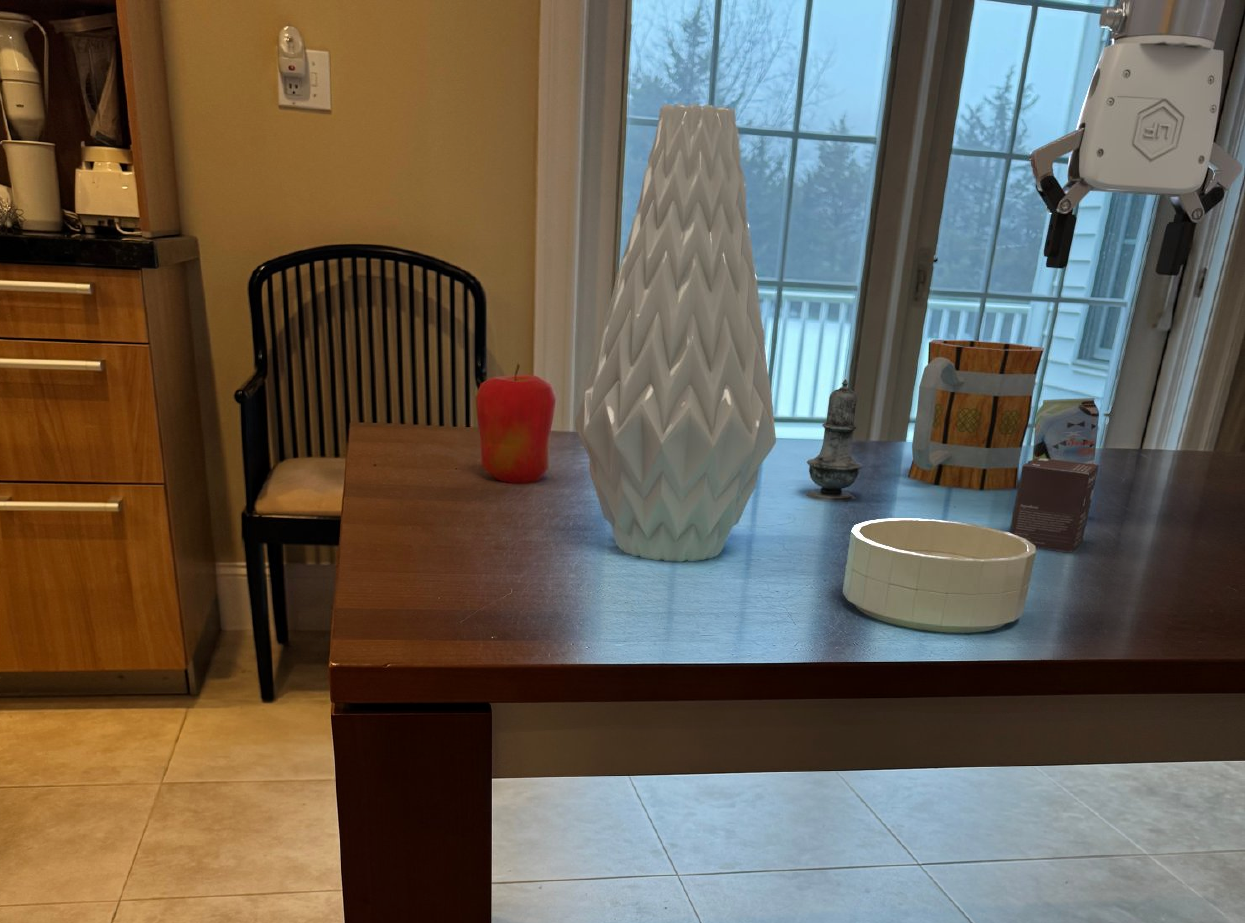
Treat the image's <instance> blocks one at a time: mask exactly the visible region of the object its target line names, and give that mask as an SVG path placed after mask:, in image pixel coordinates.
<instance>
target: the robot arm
mask: <svg viewBox="0 0 1245 923" xmlns="http://www.w3.org/2000/svg"><path fill="white" fill-rule="evenodd" d="M1225 2H1226V0H1118V2H1117V4H1115V5H1113V6H1104V7H1103V8H1102V11H1101V13H1100V16H1099V23H1098V25H1099V28H1107V29H1108V30H1109V31H1111V36H1110V41H1112V43H1111V44H1110V45H1107V46H1106V47H1103V50H1102V52H1101V54H1100V57H1099V59H1098V61H1097V63H1096V67H1095V70H1094V71H1093V72H1094V73H1093V75H1092V78H1091V81H1090V83H1089V87H1088V89H1087V92H1086V96H1085V98H1084V100H1083V101H1084V102H1083V105H1082V108H1081V111H1080V115H1079V118H1078V122H1077V126H1076V129H1075V130H1073V131H1071V132H1069V133H1067V134H1065V135H1063V136H1061V137H1058V138H1057V139H1055V140H1052V141H1051V142H1048V143H1046V144H1045V145H1042V146H1041V147H1038V148H1036V149H1034V150H1033V151H1031V152H1030V155H1029V163H1030V166H1031V170H1032V175H1033V178H1034V181H1035V186H1034V187H1035V190H1036V192H1037V193H1038V195H1039V196H1040V198H1041V199H1042V201H1043V204H1045V206H1046V211H1047V213H1048V214H1050V216H1049V217H1050V218H1049V223H1048V227H1047V233H1046V236H1045V243H1044V247H1043V256H1044V258H1046V261H1045V267H1046V268H1050V269H1063V270H1064V269H1065V268H1066V267H1067V266H1068V262H1069V257H1070V253H1071V248H1072V243H1073V238H1074V233H1075V230H1076V224H1077V219H1078V218H1077V216H1076V214H1073V212H1074V209H1075V207H1076V206H1077V205H1078V204H1079V203H1080V202H1081V201H1082V200H1083V199H1084V198H1085V197H1086V196H1087V195H1088V194H1089V193H1090V192H1103V193H1116V194H1117V193H1118V194H1131V195H1132V194H1133V195H1147V196H1148V195H1149V196H1164V197H1165V199H1166V201H1167V203H1168V205H1169V208H1170V210H1171V212H1172V215H1173V220H1172V221H1168V223H1167V224H1166V226H1165V230H1164V233H1163V238H1162V241H1161V244H1160V245H1161V246H1160V250H1159V254H1158V258H1157V262H1156V267H1155V273H1156V274H1157V275H1161V276H1172V277H1173V276H1175V277H1177V276H1178V275H1179V274H1180V271H1181V267H1182V266H1184V265H1185V263H1186V261H1187V259H1188V255H1189V251H1190V247H1191V243H1192V239H1193V236H1194V231H1195V227H1196V223H1199V222H1201V221H1202V220H1203V219H1204V217H1205V215H1206V214H1208V213H1209V212H1210V211H1211V210H1212V209H1213V208H1215V207H1216V206H1217V205H1218V204H1219V203H1220V202H1221V201H1223V199H1224V198H1225V194H1226V192H1227V191H1229V190H1230V188H1231V186H1232V185H1233V184H1234V183H1235V181H1236V180H1237V178H1238V177H1239V176H1240V174H1241V173H1242V170H1243V165H1242V163H1241V162H1239V161H1238V160H1237V159H1236V158H1235V157H1234V156H1232V155H1231V154H1229V152H1227V151H1226V150H1225V149H1223V148H1222V146H1220V145H1218V144H1217V143H1216V142H1214V140H1215V135H1216V128H1217V122H1218V116H1219V110H1220V103H1221V95H1222V84H1223V76H1224V75H1223V74H1224V54H1225V53H1224V50H1222V49H1214V47H1215V42H1216V39H1217V35H1218V31H1219V28H1220V23H1221V19H1222V14H1223V10H1224V6H1225ZM1069 153H1070V154H1069ZM1067 154H1069V157H1068V165H1067V170H1066V180H1067V182H1066V183H1065V184H1064V185H1063V186H1061V184H1060V183H1059V180H1057V178H1056V177H1055V173H1054V165H1053V164H1054V162H1055V161H1056V160H1057V159H1059V158H1061V157H1063V156H1065V155H1067ZM1208 168H1209V169H1211V170H1212V172H1213V177H1212V179H1211V181H1209V182H1210V183H1209V185H1207V187H1206V188H1204V189H1203V190H1202V191H1200V192H1199V193H1198V192H1197V190H1198V189H1200V188H1201V187H1202V185H1203V184H1204V181H1205V178H1206V175H1207V172H1208Z"/></svg>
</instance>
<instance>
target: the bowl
mask: <svg viewBox="0 0 1245 923" xmlns="http://www.w3.org/2000/svg"><path fill="white" fill-rule="evenodd" d="M1036 549H1037V548H1036V547H1035V545H1033V544H1032V543H1031V542H1029V541H1028V540H1026V539H1024V538H1022V537H1019V536H1016V535H1014V534H1011V533H1009V532H1008V531H1004V530H999V529H997V528H992V527H988V526H984V525H977V524H971V523H965V522H959V521H951V520H950V521H949V520H941V519H933V518H931V519H929V518H906V517H905V518H881V519H875V520H873V519H872V520H868V521H863V522H861V523H860V522H859V523H858V524H855V525H853V527H852V529H851V531H850V536H849V543H848V549H847V557H846V564H845V571H844V578H843V585H842V595H843V596H844V598H845V600H846V601H848V602H849V603H852V604H853V605H854V606H855V608H856V609H857V610H858V611H860V612H861V613H863V614H865V615H867V616H868V617H870V618H873V619H875V620H879V621H882V622H884V623H888V624H891V625H894V626H895V625H896V626H900V627H905V628H909V629H913V630H915V629H916V630H921V631H929V632H938V633H959V634H960V633H962V634H963V633H965V634H966V633H981V632H988V631H992V630H993V631H994V630H997V629H999V628H1002V627H1003V626H1006V624H1008V623H1013V622H1015V621H1016V620H1019V619H1020V618H1021V617H1022V616H1023V614H1024V610H1025V606H1026V600H1027V596H1028V592H1029V587H1030V583H1031V577H1032V573H1033V569H1034V568H1033V567H1034V564H1035V558H1036V554H1037V550H1036Z"/></svg>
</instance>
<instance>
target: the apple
mask: <svg viewBox="0 0 1245 923" xmlns="http://www.w3.org/2000/svg"><path fill="white" fill-rule="evenodd" d="M516 364H517V365H516V368H515V372H514V375H503V376H502V375H501V376H492V377H490V378H488V379H487V380H485V381H482V382H481V383H480V384H479V388H478V390H477V392H476V395H475V398H474V400H475V408H476V409H475V410H476V419H477V425H478V431H479V436H480V452H481V453H480V454H481V466H482V467H483V468H484V469H485V470H486V471H487V472H488V473H489V475H491V477H493V478H494V479H495V480H497V481H500V482H503V483H511V484H529V483H535V482H538V481H539V480H540V479H541V478H542V476H543V475H544V474H546V472H547V471H548V469H549V464H550V462H549V458H550V457H549V455H550V437H551V433H552V427H553V421H554V414H555V408H556V400H557V397H556V394H555V391H554V390H553V386H552V384H551V383H549V382H548V381H546V380H544V379H543V378H542V377H539V376H538V375H534V374H533V375H532V374H519V375H518V373H519V370H520V367H521V366H520V364H519V363H516Z"/></svg>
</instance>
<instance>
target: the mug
mask: <svg viewBox="0 0 1245 923" xmlns="http://www.w3.org/2000/svg"><path fill="white" fill-rule="evenodd" d="M1044 351H1045V347H1041V346H1034V345H1026V344H1018V343H1009V342H997V341H996V342H995V341H984V340H983V341H982V340H970V339H969V340H967V339H933V340H931V341H929V342H928V353H927V355H928V356H927V365H925V367H924V368H923V372H922V376H921V379H920V382H919V385H918V386H919V387H918V395H917V404H916V405H917V406H916V415H915V421H914V426H913V436H912V444H911V452H912V461H911V463H910V468H909V472H908V475H907V477H908V478H910V479H914V480H917V481H920V482H923V483H927V484H930V485H933V486H938V487H939V486H940V487H948V488H957V489H967V490H976V491H977V490H978V491H991V490H995V491H996V490H1012V489H1016V488H1017V486H1018V483H1019V473H1020V472H1019V471H1020V461H1021V460H1020V459H1021V456H1022V450H1023V445H1024V440H1025V437H1026V435H1027V434H1026V433H1027V431H1028V426H1029V423H1030V419H1031V413H1032V406H1033V405H1032V404H1033V395H1034V389H1035V384H1036V380H1037V374H1038V370H1039V367H1040V365H1041V364H1040V363H1041V360H1042V357H1043V354H1044Z"/></svg>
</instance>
